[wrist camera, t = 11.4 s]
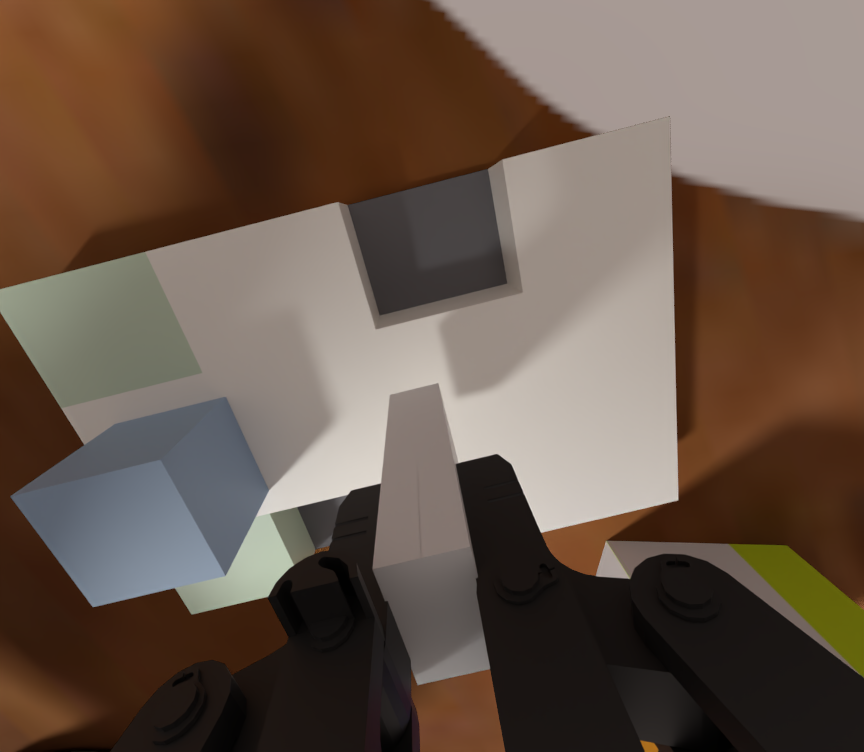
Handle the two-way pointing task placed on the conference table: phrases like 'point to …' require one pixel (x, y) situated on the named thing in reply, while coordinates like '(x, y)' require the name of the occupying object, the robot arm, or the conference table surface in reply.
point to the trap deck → (399, 339)
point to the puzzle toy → (764, 589)
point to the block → (149, 503)
